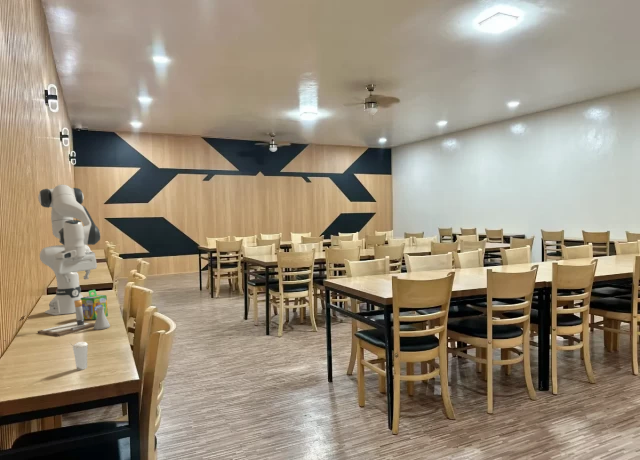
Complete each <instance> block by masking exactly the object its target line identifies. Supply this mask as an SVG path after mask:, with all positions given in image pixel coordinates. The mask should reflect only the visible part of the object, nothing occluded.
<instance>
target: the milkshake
mask: <svg viewBox="0 0 640 460" xmlns="http://www.w3.org/2000/svg"><path fill="white" fill-rule="evenodd" d="M70 345H71V346H72V351H73V354H74V355H73V356H74V360H75V367H76V370H77V371H83V370H86V369H87V368H88V351H89V350H88V349H89V348H88V347H89V346H88V345H89V343H87V342H86V341H78V342H76V343H74V344H73V345H72V343H70Z"/></svg>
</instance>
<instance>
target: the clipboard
mask: <svg viewBox="0 0 640 460" xmlns="http://www.w3.org/2000/svg"><path fill="white" fill-rule="evenodd" d="M94 325H95V322H86V321H84V324H83V325H77V320H76V321H75V320H74V321H71V322H69V323H64V324H61V325H56V326H53V327H48V328H44V329H40V330H37V334H41V335H47V336H54V337H63V336H65V335H69V334H73V333H77V332H79V331H80V332H81V331H83V330H87V329H91V328H94Z"/></svg>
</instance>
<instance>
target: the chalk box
mask: <svg viewBox="0 0 640 460" xmlns="http://www.w3.org/2000/svg"><path fill="white" fill-rule="evenodd" d="M92 293H93V294H92ZM80 299H81V300H82V309H83V318H84V321H85V320H95V321H96V318H97V313H98V311H97V308H98V307H104V313H105V316H106V317H108V316H109V315H108V300H107V295H103V294H97V291H96V289H92V290H88V296H83V298H80Z"/></svg>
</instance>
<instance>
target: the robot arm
mask: <svg viewBox="0 0 640 460" xmlns="http://www.w3.org/2000/svg"><path fill="white" fill-rule="evenodd" d="M37 196H38V197H37V198H38V202H39V204H40V206H42V207H43V208H51V211H50V213H51V214H50V216H51V217H50V221H51V230H52V235H53V236H54V238H57V239H59V241H58V242H59V243H60V245H59V244H58V245H51V246H46V247H43V248H42V249H41V251H40V253H39V260H40V262H41V263H42V264H43V265H45V266H47V267H48V268H50V269H51V270H52V271H53V273H54V275H55V279H56V284H57V285H56V286H57V288H56V290H55V292H56V293H55V296H54V297H53V298H52V299H51V301H49V304H48V307H49V309H47V310H45V311H44V313H45V314H48V315H51V316H59V315H67V314H69V315H70V314H74V313H75V314H76V310H75V303H74V301H75V300H81V299H80V298H83V297H84V296H83V294H81V292H82V289H81V286H80V275H79V272H85V275H84V276H83V279H84V280H89V278H90V277H89V275H90V273H91V271H92V270H96V269H97V267H98V263H97V258H96V253H95V252H94V251H93V250H91V248H90V246H91V245H93V246H94V245H96V244H97V243H98V242H99V241H100V240H101V232H100V229H99V227H98V226H97V225H96V224H95V222H94V220H93V218H92V216H91V214H90V213H89V211H88V209H87V208H86V206H85V205H82V204H83V203H84V199H85V198H84V193H83V192H82V189H80V188H78V187H73V188H72V187H71V186H69V185H67V184H58V185H56V186H54V188H44V189H42V190H40V191H39V194H38V195H37Z"/></svg>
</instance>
